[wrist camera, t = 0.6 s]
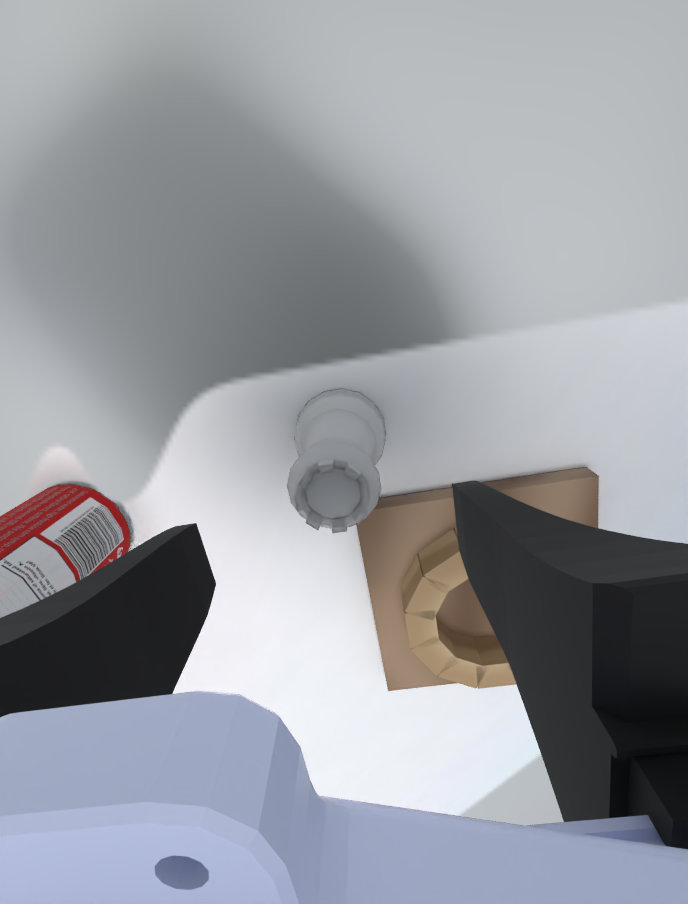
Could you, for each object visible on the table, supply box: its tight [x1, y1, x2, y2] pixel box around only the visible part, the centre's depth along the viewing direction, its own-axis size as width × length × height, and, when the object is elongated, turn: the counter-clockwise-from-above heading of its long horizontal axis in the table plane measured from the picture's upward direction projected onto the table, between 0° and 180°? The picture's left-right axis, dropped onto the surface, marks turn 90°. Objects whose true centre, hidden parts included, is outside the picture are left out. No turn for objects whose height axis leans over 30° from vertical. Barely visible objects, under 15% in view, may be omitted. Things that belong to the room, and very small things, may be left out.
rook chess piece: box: [287, 389, 386, 533], centre depth 18 cm, size 4×4×8 cm
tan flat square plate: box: [356, 467, 599, 691], centre depth 23 cm, size 12×12×3 cm
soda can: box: [0, 484, 130, 618], centre depth 18 cm, size 6×6×12 cm
